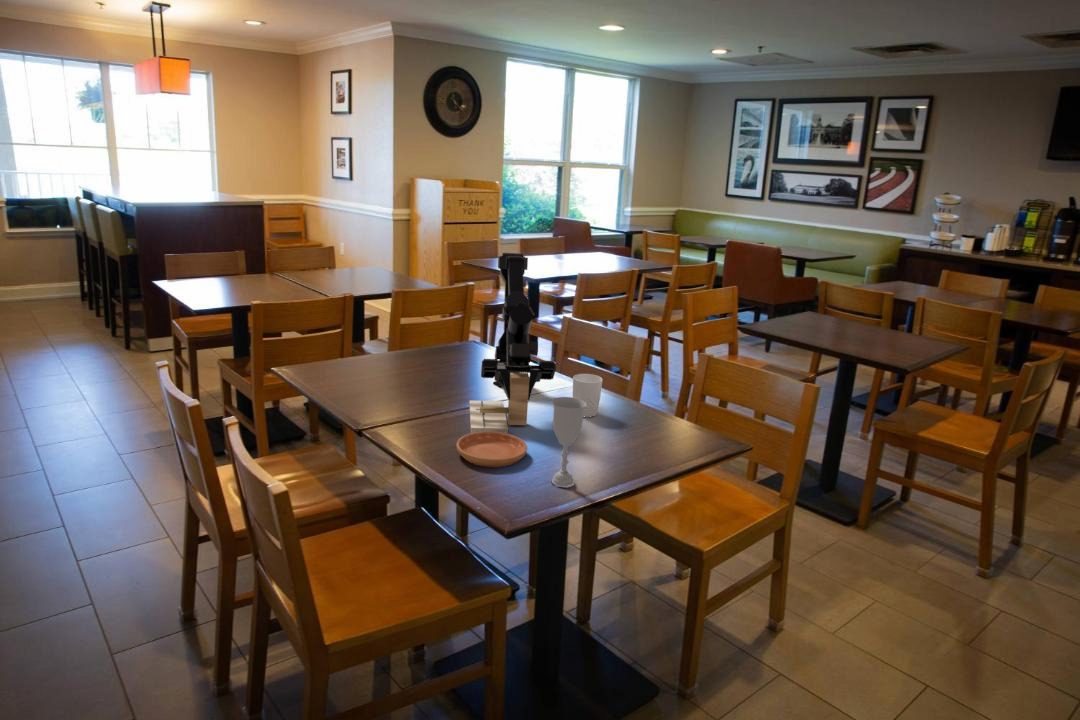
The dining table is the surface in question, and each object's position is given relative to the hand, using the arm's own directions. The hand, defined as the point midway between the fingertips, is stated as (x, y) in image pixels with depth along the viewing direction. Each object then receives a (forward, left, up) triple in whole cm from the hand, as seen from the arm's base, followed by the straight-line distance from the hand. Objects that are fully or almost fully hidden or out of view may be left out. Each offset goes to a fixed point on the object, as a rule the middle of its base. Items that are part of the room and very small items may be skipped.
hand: (518, 399), depth 179 cm
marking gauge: (+2, -3, -7) cm, 8 cm away
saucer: (+17, +9, -8) cm, 21 cm away
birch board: (+2, -8, -7) cm, 11 cm away
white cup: (-22, +4, -8) cm, 23 cm away
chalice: (+15, +29, -7) cm, 34 cm away
